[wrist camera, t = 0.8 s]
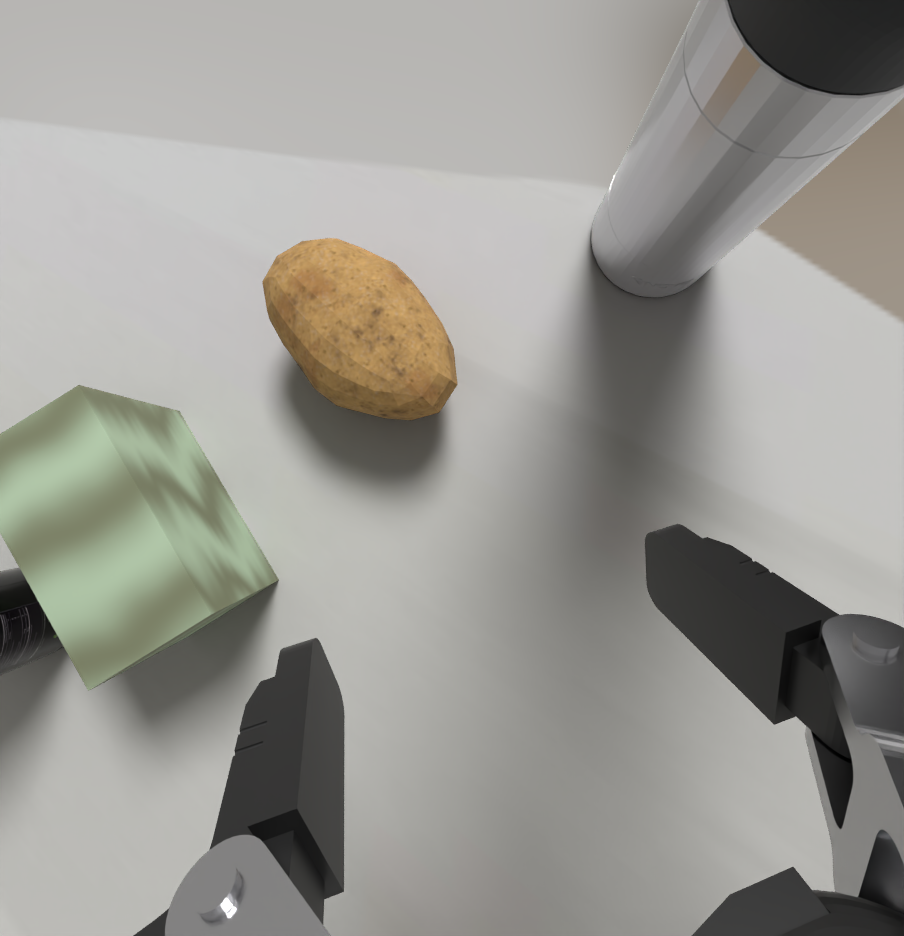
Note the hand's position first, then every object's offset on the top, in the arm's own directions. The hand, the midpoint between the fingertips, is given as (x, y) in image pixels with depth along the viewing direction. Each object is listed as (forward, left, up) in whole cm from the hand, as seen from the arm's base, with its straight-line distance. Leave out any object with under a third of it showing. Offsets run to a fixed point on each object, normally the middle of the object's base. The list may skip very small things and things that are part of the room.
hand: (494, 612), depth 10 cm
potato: (-12, -8, -23) cm, 27 cm away
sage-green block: (+1, -22, -23) cm, 32 cm away
